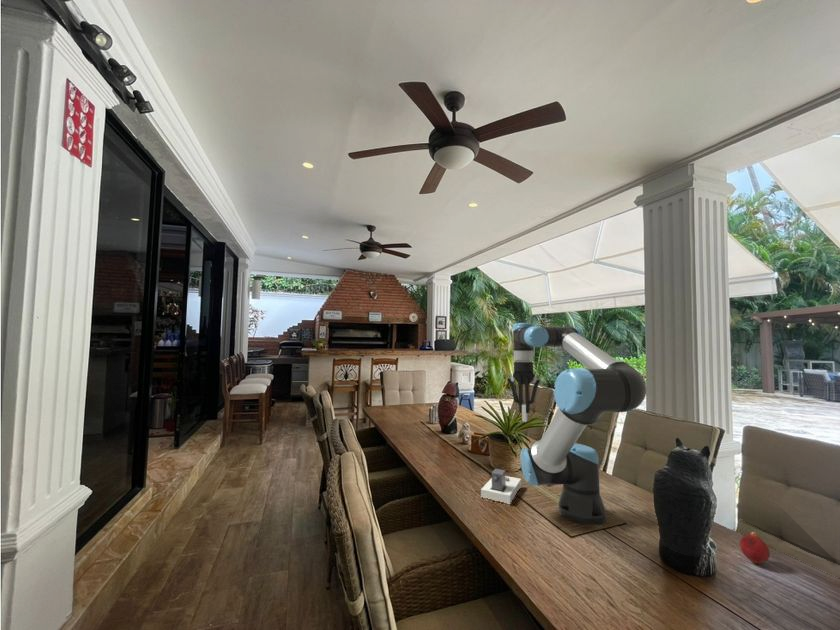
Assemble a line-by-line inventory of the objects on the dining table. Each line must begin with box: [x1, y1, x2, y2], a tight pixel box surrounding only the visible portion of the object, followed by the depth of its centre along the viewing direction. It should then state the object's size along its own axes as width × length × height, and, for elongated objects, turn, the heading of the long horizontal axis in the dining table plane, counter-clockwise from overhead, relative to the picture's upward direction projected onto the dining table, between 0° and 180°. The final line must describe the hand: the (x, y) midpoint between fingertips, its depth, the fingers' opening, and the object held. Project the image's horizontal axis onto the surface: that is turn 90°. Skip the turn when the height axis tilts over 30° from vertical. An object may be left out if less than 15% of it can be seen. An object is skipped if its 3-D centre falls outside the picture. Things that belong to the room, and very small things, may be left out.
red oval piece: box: [739, 531, 771, 565], centre depth 94 cm, size 6×6×8 cm
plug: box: [491, 468, 506, 492], centre depth 133 cm, size 4×7×9 cm, turn 152°
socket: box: [480, 475, 522, 504], centre depth 137 cm, size 11×18×4 cm, turn 151°
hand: (524, 421), depth 137 cm, fingers closed
